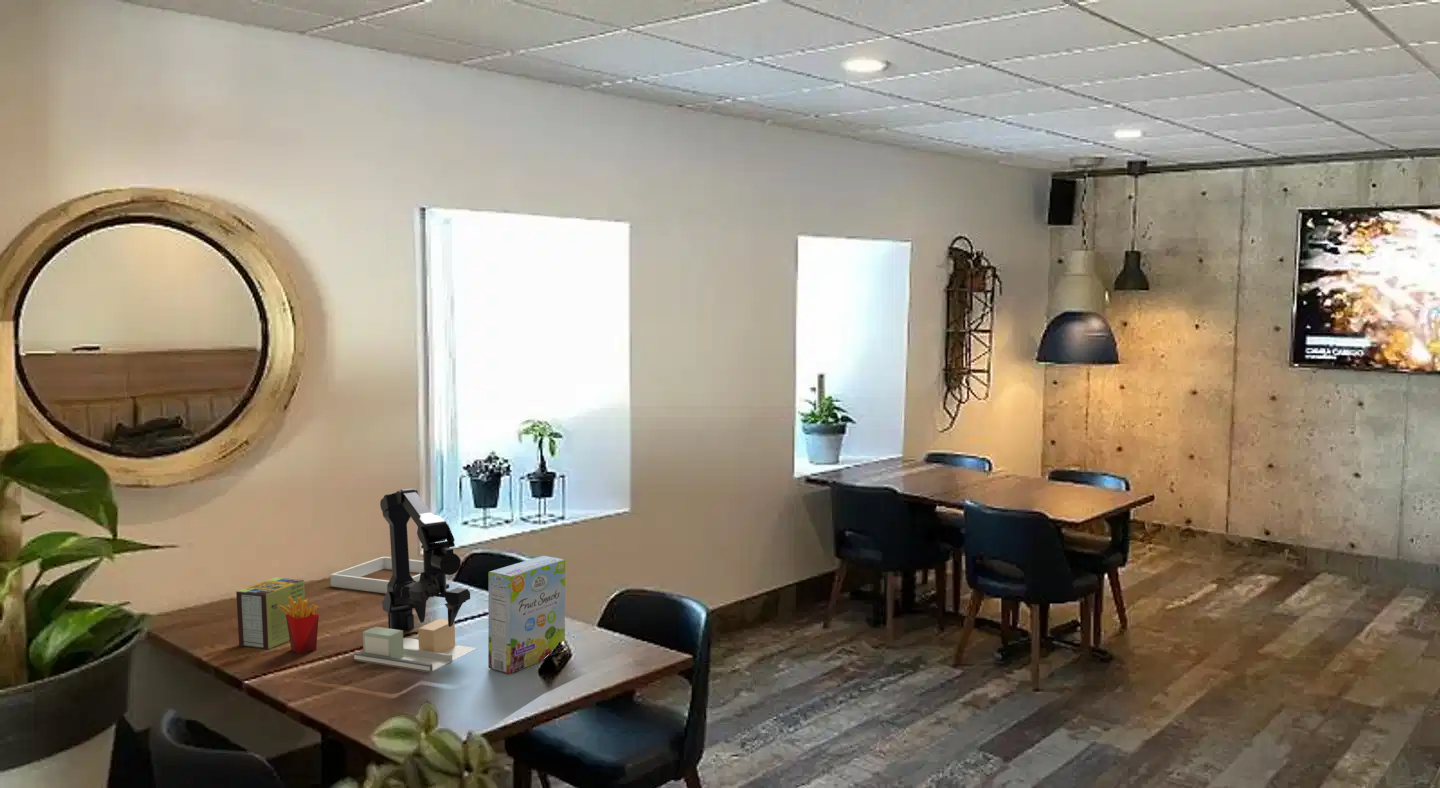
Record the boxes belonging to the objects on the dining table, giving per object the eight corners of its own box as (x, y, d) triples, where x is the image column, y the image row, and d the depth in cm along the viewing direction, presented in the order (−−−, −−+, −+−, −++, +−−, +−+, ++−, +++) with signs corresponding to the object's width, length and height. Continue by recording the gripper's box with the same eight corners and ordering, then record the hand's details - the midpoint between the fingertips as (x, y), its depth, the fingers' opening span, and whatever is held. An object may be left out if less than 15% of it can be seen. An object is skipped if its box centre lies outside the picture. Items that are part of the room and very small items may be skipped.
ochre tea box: (434, 656, 289) (433, 630, 288) (418, 653, 291) (417, 628, 290) (455, 646, 297) (454, 620, 296) (439, 643, 299) (439, 618, 298)
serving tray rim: (330, 586, 360) (330, 574, 360) (383, 567, 384) (383, 556, 384) (399, 595, 350) (399, 582, 349) (449, 575, 373) (449, 563, 373)
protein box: (307, 633, 312) (304, 579, 310) (268, 649, 297) (265, 594, 296) (277, 629, 315) (274, 576, 314) (237, 646, 301) (234, 590, 299)
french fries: (310, 644, 302) (308, 590, 300) (323, 651, 296) (321, 596, 294) (278, 651, 296) (276, 597, 294) (291, 658, 290) (289, 603, 288)
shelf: (354, 663, 286) (354, 653, 286) (404, 640, 305) (404, 631, 304) (429, 675, 277) (429, 665, 277) (476, 651, 295) (476, 641, 295)
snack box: (512, 676, 276) (510, 576, 274) (487, 669, 281) (484, 571, 278) (568, 651, 295) (566, 557, 292) (543, 646, 299) (541, 553, 297)
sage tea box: (403, 656, 289) (402, 630, 288) (391, 662, 284) (390, 636, 284) (376, 652, 292) (375, 626, 292) (363, 658, 288) (362, 632, 287)
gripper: (386, 571, 288) (388, 628, 289) (444, 578, 281) (446, 637, 282) (413, 561, 298) (415, 617, 300) (470, 567, 291) (472, 625, 293)
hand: (436, 624), depth 293 cm, fingers open, 9 cm apart
